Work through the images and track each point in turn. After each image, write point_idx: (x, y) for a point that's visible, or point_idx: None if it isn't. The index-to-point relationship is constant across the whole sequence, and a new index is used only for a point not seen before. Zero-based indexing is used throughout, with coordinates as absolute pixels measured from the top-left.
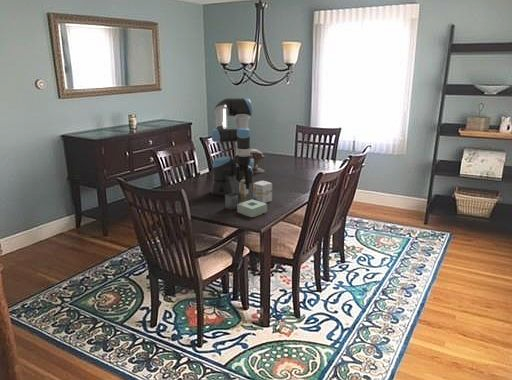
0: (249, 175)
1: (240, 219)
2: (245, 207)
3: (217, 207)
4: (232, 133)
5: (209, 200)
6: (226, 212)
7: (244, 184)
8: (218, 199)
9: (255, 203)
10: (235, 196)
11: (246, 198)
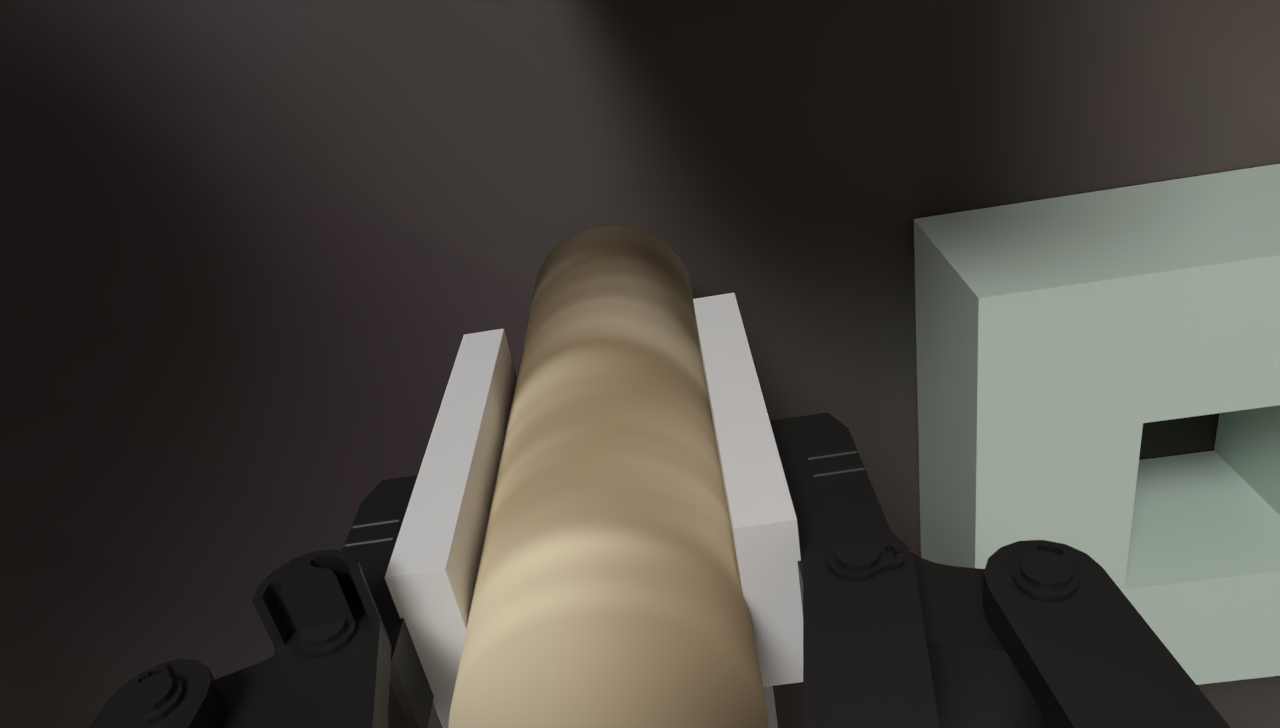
0: None
1: (1203, 690)
2: (1229, 669)
3: None
4: None
5: (43, 629)
6: (793, 695)
7: (771, 671)
8: (41, 489)
9: (1262, 401)
10: (776, 716)
11: (681, 274)
